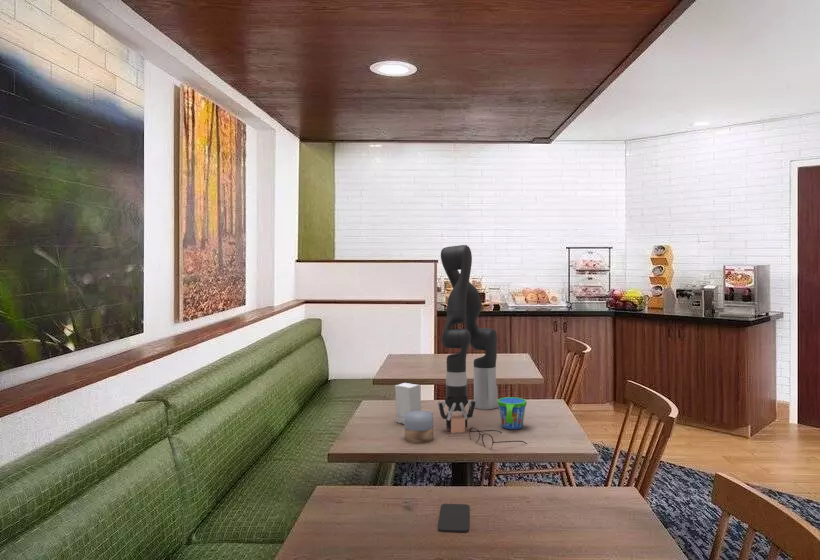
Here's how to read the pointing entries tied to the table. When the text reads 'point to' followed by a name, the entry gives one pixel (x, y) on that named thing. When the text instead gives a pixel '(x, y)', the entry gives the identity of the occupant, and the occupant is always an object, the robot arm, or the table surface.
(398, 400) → the skincare box
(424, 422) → the slate top puck
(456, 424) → the terracotta cube
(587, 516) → the table surface
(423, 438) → the disc
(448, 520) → the phone
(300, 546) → the table surface
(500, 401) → the snack cup
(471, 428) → the glasses
